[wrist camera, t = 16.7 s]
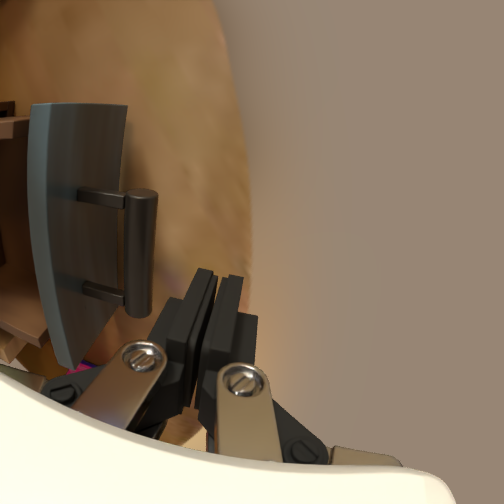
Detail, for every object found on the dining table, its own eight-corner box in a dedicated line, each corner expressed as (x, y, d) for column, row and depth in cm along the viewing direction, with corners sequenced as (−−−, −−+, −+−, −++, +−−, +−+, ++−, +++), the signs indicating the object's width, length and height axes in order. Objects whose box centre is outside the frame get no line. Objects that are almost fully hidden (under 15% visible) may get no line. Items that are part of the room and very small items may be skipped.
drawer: (195, 110, 14) (144, 103, 8) (171, 319, 19) (138, 394, 13) (3, 109, 13) (-66, 121, 7) (10, 270, 19) (-39, 311, 13)
